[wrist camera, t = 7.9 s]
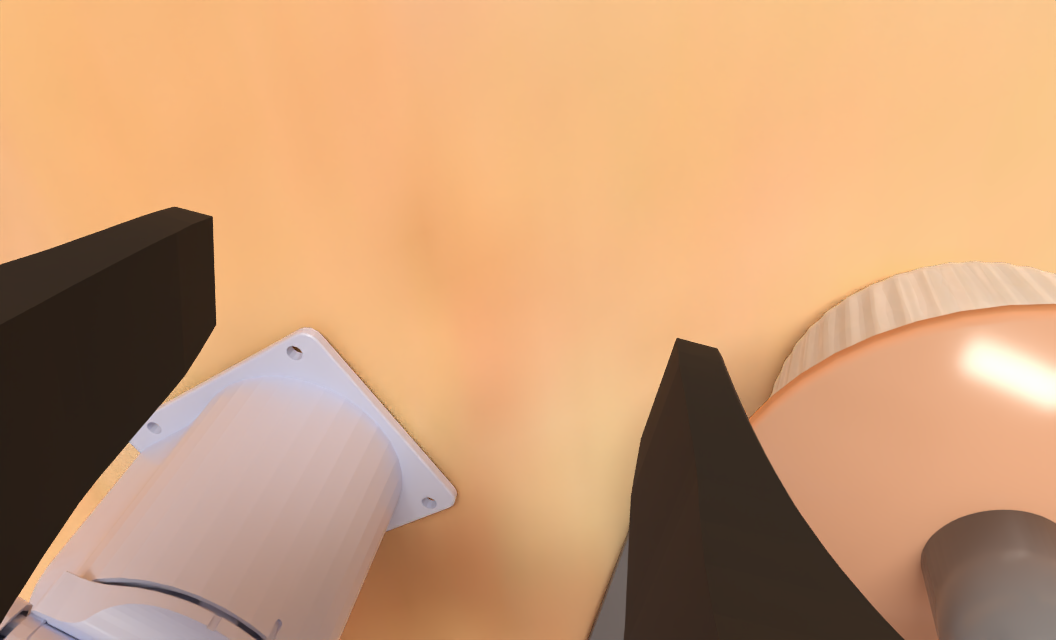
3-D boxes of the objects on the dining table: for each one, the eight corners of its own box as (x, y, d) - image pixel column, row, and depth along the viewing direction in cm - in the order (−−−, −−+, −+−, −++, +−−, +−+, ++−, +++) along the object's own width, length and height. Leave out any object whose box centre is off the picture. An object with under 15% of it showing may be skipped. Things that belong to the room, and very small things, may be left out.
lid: (840, 747, 25) (861, 921, 22) (605, 440, 21) (580, 596, 17) (1392, 645, 20) (1550, 858, 16) (1243, 190, 15) (1418, 340, 11)
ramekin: (857, 156, 21) (891, 261, 17) (1284, 308, 21) (1428, 451, 17) (683, 466, 28) (676, 599, 23) (1012, 581, 28) (1066, 736, 23)
